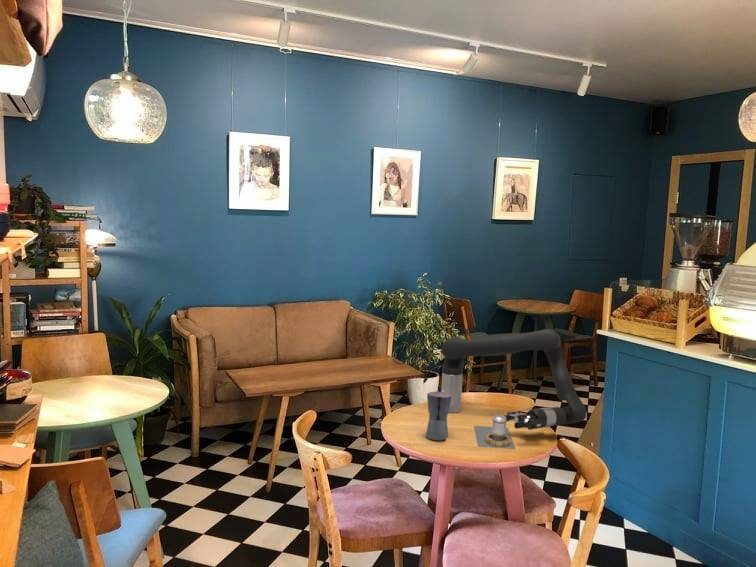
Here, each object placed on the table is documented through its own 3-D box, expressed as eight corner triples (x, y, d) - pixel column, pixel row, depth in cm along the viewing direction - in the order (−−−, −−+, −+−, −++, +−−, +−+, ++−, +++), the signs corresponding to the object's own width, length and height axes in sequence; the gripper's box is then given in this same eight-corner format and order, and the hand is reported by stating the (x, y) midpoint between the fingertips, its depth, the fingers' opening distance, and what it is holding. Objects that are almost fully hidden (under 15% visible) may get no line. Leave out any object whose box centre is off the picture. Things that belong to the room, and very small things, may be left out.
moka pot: (447, 431, 240) (450, 383, 238) (451, 445, 225) (454, 394, 223) (424, 430, 240) (426, 382, 238) (426, 444, 225) (428, 393, 223)
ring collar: (486, 445, 223) (486, 440, 223) (484, 437, 232) (484, 432, 232) (511, 447, 222) (511, 442, 222) (508, 438, 231) (508, 433, 231)
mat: (477, 449, 222) (477, 446, 222) (473, 427, 246) (473, 425, 246) (515, 451, 221) (515, 449, 221) (507, 430, 245) (507, 427, 244)
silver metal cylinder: (491, 444, 225) (493, 418, 224) (490, 439, 230) (491, 414, 229) (505, 445, 225) (507, 419, 223) (503, 440, 230) (505, 415, 229)
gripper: (530, 403, 241) (497, 407, 234) (554, 414, 228) (520, 418, 221) (529, 421, 242) (496, 425, 235) (553, 432, 229) (519, 437, 222)
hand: (508, 422), depth 228 cm, fingers open, 8 cm apart
